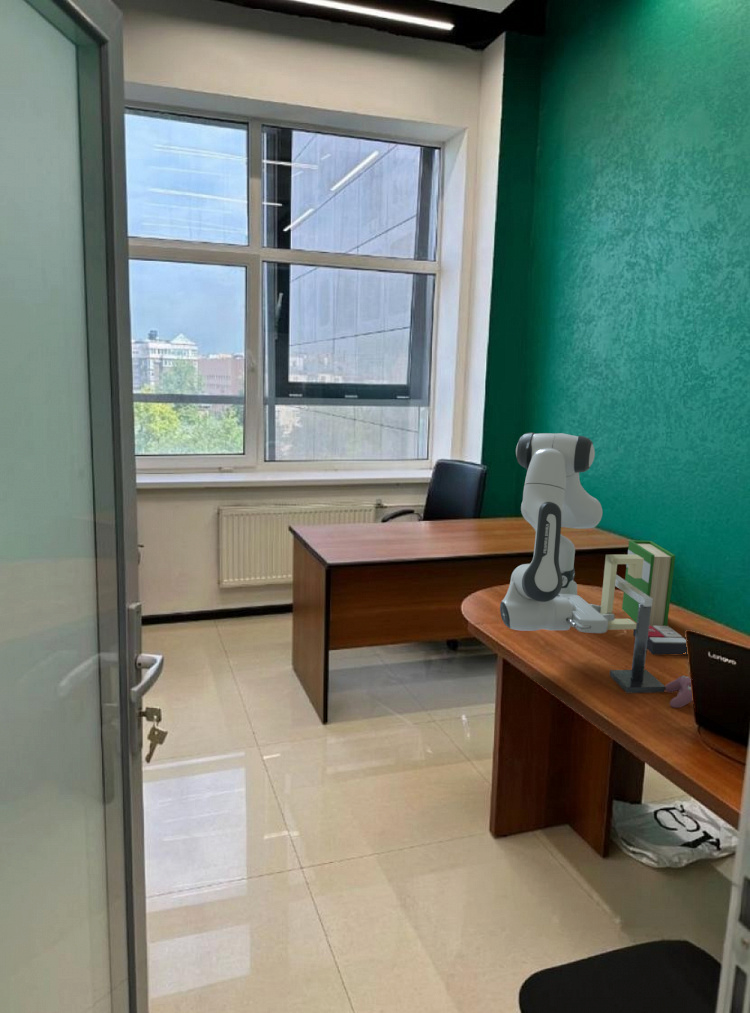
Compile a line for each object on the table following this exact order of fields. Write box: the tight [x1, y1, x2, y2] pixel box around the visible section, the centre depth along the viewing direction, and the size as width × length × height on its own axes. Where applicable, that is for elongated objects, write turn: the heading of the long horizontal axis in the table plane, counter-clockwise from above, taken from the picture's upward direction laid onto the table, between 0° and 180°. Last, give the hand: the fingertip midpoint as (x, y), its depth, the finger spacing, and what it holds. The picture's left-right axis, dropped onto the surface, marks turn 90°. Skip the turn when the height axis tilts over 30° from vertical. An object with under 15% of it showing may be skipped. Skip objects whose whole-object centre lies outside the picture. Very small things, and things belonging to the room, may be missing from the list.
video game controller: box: [664, 675, 693, 709], centre depth 171 cm, size 10×5×7 cm, turn 166°
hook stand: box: [609, 573, 666, 694], centre depth 186 cm, size 26×10×24 cm, turn 6°
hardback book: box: [621, 540, 676, 627], centre depth 224 cm, size 18×7×24 cm, turn 2°
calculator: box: [632, 625, 688, 656], centre depth 206 cm, size 11×4×15 cm
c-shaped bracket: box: [600, 554, 644, 631], centre depth 190 cm, size 4×9×20 cm, turn 96°
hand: (609, 612), depth 191 cm, fingers closed on c-shaped bracket, 4 cm apart
